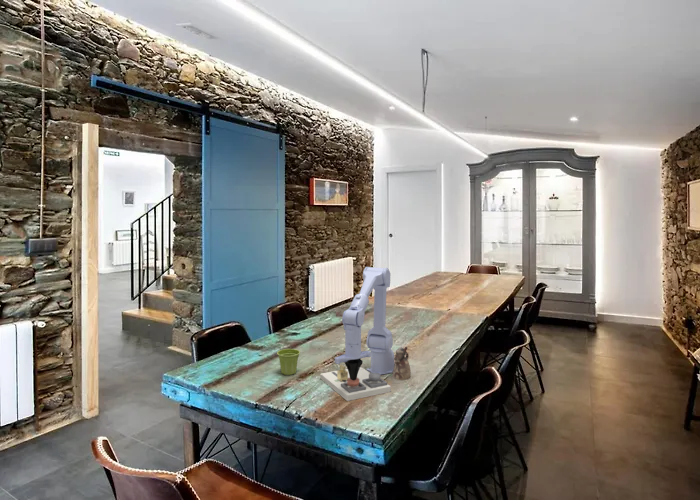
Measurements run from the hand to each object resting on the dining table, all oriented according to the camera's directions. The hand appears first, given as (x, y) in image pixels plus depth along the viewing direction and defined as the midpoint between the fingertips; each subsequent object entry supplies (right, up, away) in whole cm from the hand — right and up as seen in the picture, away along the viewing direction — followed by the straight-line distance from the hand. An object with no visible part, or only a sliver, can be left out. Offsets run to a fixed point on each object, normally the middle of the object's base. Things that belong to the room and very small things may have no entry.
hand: (353, 379), depth 157 cm
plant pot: (-27, -4, +22) cm, 34 cm away
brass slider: (-4, -2, +8) cm, 9 cm away
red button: (0, -2, 0) cm, 2 cm away
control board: (0, -5, +8) cm, 10 cm away
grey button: (+8, -1, +4) cm, 9 cm away
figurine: (+20, -4, +17) cm, 26 cm away
